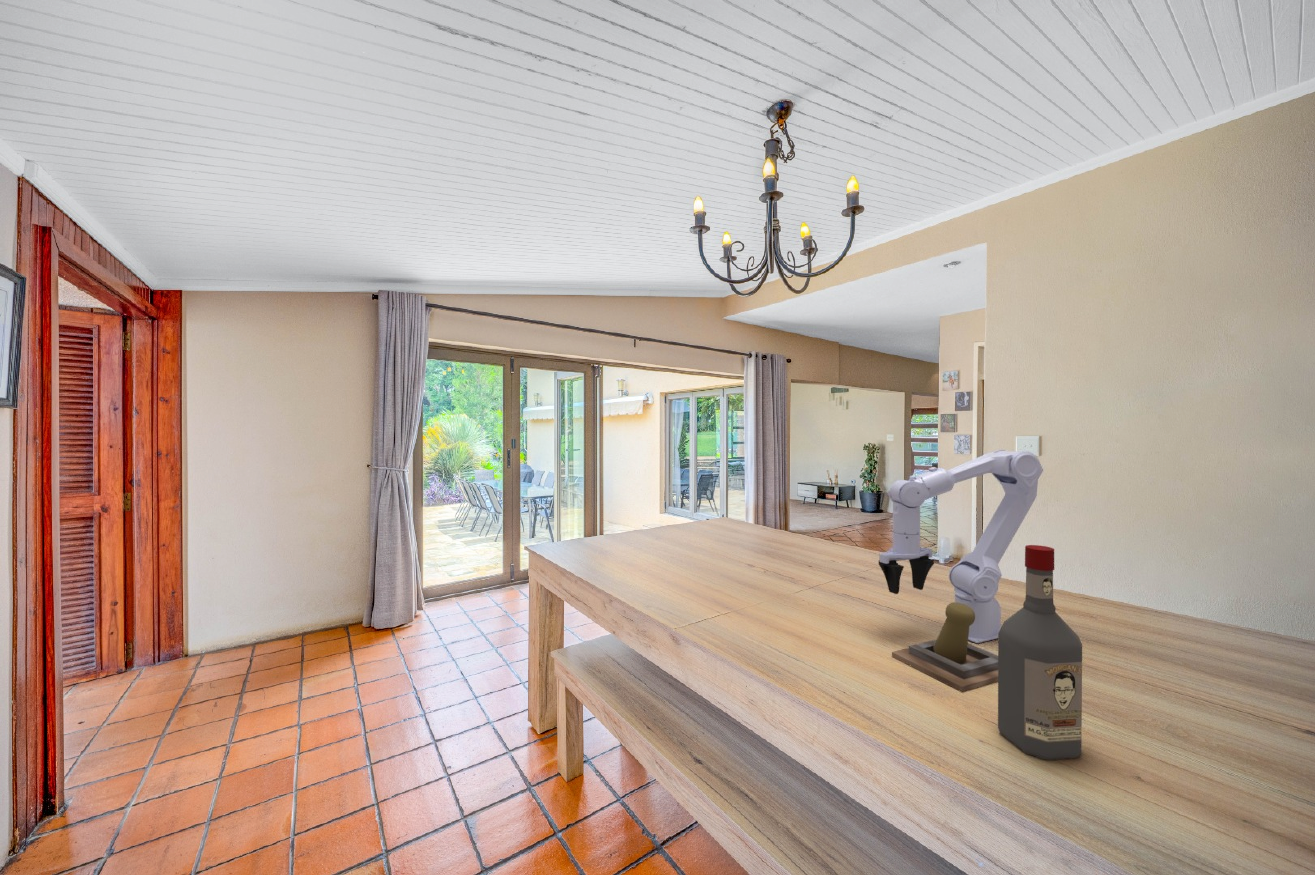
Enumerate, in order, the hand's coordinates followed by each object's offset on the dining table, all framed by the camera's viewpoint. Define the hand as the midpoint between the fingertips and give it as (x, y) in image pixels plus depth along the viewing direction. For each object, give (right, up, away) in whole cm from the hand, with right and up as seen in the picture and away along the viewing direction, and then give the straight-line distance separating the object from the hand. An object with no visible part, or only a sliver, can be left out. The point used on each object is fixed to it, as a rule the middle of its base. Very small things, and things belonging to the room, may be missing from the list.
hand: (905, 590), depth 120 cm
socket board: (+3, -11, -15) cm, 19 cm away
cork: (+2, -9, -14) cm, 16 cm away
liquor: (+1, -12, -41) cm, 42 cm away
